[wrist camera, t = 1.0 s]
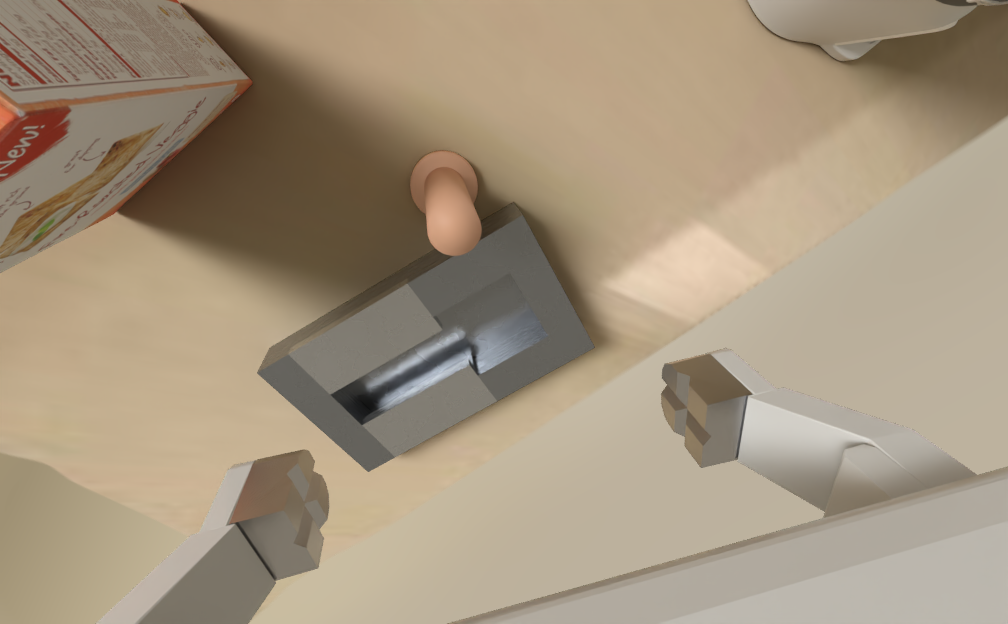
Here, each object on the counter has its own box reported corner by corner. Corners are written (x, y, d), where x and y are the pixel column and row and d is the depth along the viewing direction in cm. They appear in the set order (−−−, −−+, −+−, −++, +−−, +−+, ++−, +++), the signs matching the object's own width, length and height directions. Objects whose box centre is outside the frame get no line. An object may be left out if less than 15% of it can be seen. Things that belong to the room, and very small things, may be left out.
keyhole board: (513, 202, 36) (522, 215, 33) (581, 327, 43) (594, 347, 40) (269, 348, 38) (256, 373, 35) (371, 444, 45) (368, 472, 42)
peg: (454, 137, 33) (470, 166, 24) (488, 195, 35) (514, 243, 26) (397, 172, 34) (389, 216, 24) (434, 228, 36) (440, 287, 26)
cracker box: (121, 218, 32) (-264, 420, 14) (29, 146, 29) (-611, 283, 11) (263, 87, 30) (25, 122, 12) (178, -5, 27) (-318, -150, 9)
